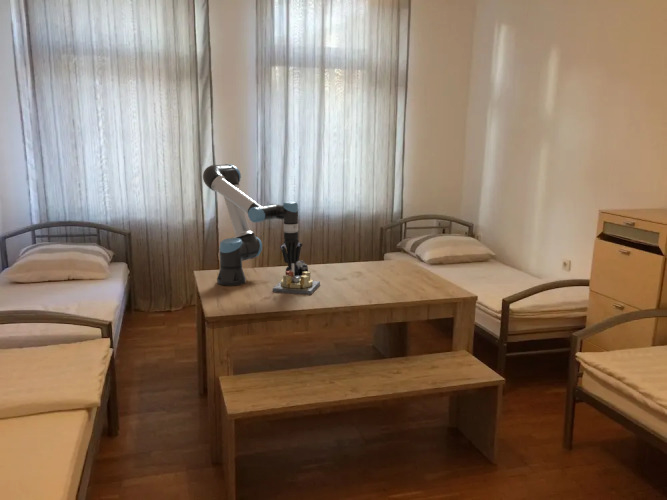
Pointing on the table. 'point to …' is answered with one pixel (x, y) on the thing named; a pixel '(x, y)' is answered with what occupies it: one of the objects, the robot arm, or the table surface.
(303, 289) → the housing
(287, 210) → the robot arm
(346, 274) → the table surface
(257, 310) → the table surface
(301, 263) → the camera
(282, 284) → the octagonal wooden frame
